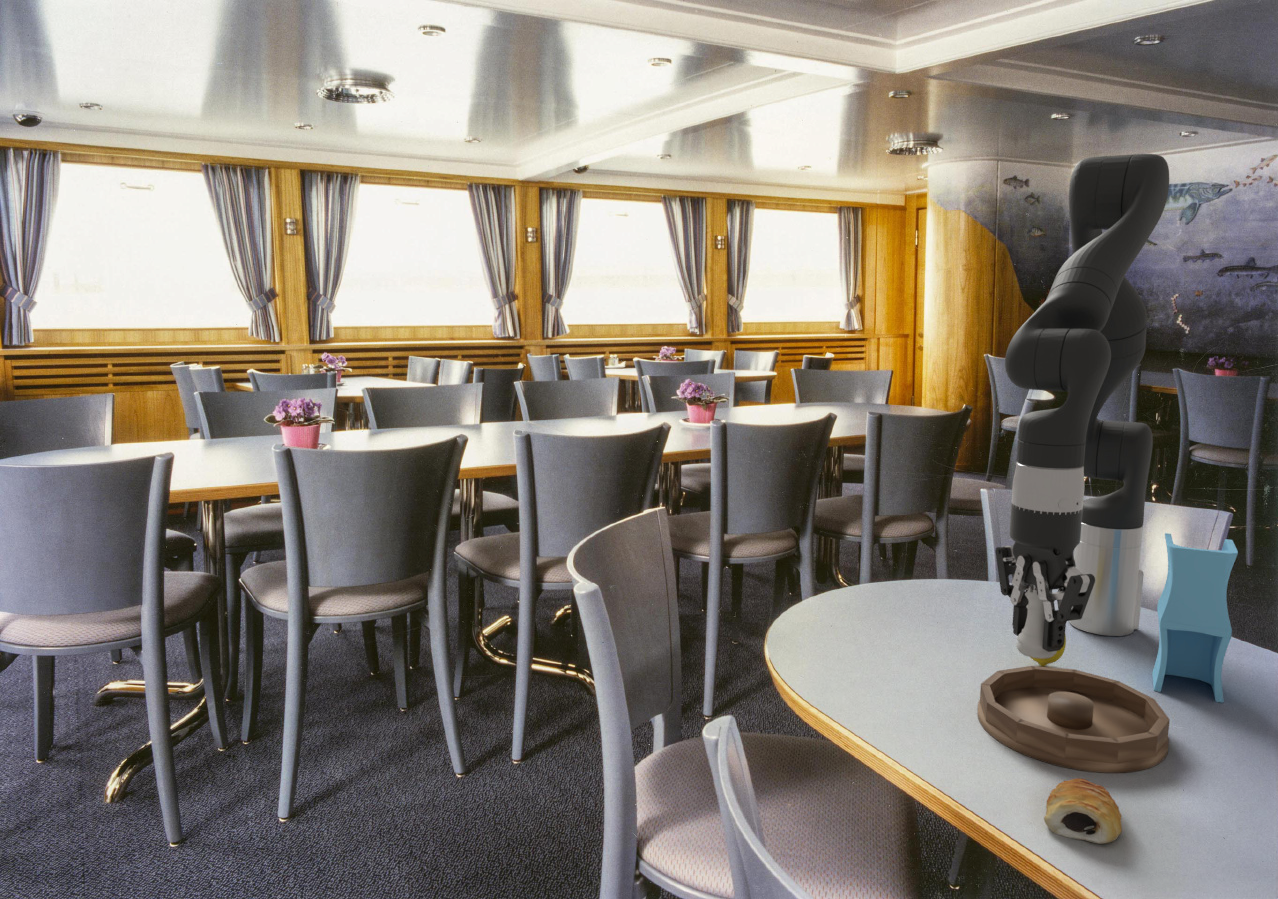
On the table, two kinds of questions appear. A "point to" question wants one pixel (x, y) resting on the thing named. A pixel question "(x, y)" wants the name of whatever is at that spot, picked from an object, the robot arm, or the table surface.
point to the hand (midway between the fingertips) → (1036, 641)
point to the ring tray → (1074, 748)
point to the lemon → (1053, 659)
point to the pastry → (1083, 812)
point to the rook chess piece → (1033, 628)
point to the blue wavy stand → (1194, 615)
